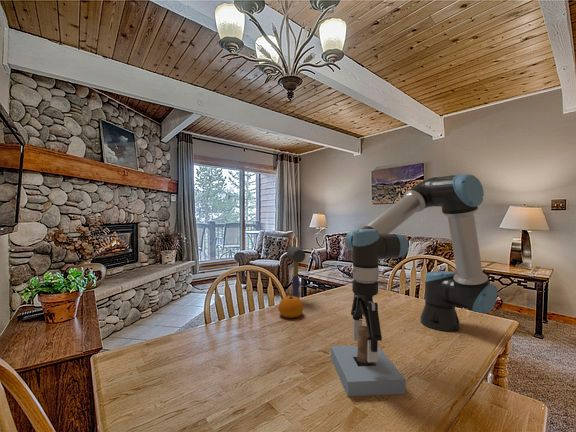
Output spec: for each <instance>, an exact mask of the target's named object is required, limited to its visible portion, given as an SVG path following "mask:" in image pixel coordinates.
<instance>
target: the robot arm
mask: <svg viewBox="0 0 576 432" xmlns="http://www.w3.org/2000/svg"><path fill="white" fill-rule="evenodd" d="M484 193H485V192H484V187H483V185H482V182H481V181H480V179H479V178H478V177H476V176H475V175H474V174H469V173H468V174H465V173H464V174H462V173H461V174H453V175H445V176H444V175H443V176H437V177H436V176H435V177H434V176H433V177H430V178H427V179H425V180H423V181H420V182H419V183H417V184H415V185H414V186H412V187H411V188H409V189H408V190H407V191H405V192H404V193H403V197H402V198H401V199H399V200H398V201H397V202H395V203H394V204H392V205H391V206H389V207H388V208H387V209H386V210H384V211H383V212H382V213H380V214H379V215H378V216H377V217H375V218H374V219H372V220H371V221H370V222H368V223H367V224H366V225H365V226H363V227H362V228H356V229H355V230H350V231H349V232H348V233H346V235H345V238H344V244H345V247H346V248H347V250H349V251H352V269H350V271H351V273H352V279H353V280H352V285H351V286H352V293H353V299H352V306H351V312H350V315H351V316H352V320H353V321H352V324H353V325H352V327H353V329H352V333H353V334H352V335H353V336H352V340H353V341H357V342H358V327H359V326H363V320H364V319H365V324H366V325H365V326H367V330H368V335H369V337H368V338H367V340H368V356H367V361H368V362H378V346H379V341H381V342H382V341H383V337H382V330H381V323H380V316H379V307H378V305H379V304H378V302H374V299H373V297H374V296H377V295H378V294H379V282H378V281H379V273H380V271H379V260H387V259H388V260H389V259H398V258H401V257H404V256H405V255H406V254H407V253H408V251H409V241H408V239H407V238H406V237H405V236H404V235H403V234H398V233H397V234H396V233H392V232H393V231H394V230H396V229H397V228H398V227H399V226H401V225H402V224H403V223H404V222H405V221H407V220H408V219H409V218H411V217H412V216H413V215H414V214H415V213H419V212H422V211H424V210H425V209H426V208H427V209H428V208H432V207H441V211H442V212H441V213H442V214H443V215H444V216H446V217H447V221H448V225H449V226H448V228H449V233H450V239H451V245H452V252H453V258H454V263H455V270H456V272H455V271H450V270H449V271H448V270H439V271H438V270H434V271H429V272H427V273H426V274H425V281H424V283H425V284H424V286H425V287H424V288H425V289H424V290H425V291H424V306H423V309H422V310H421V311H422V312H421V315H420V323H421V324H422V325H424V326H425V327H427V328H429V329H433V330H437V331H441V332H442V331H444V332H455V331H458V330H459V329H460V328H461V327H460V320H459V317H458V313H457V309H456V307H459V308H462V309H465V310H470V311H472V312H474V313H478V314H479V313H480V314H488V313H489V312H491V311H492V310H493V308H494V307H495V305H496V302H497V299H498V288H497V286H496V285H495V284H493V283H490V282H489V281H490V280H489V277H488V274H486V273H484V271H483V268H482V267H483V266H482V260H481V254H480V253H481V252H480V248H479V247H480V246H479V239H478V232H477V227H476V219H475V213H476V212H477V211H478V209H479V206H480V205H481V204H482V203H483V201H484V196H485V194H484ZM391 233H392V234H391Z"/></svg>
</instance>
